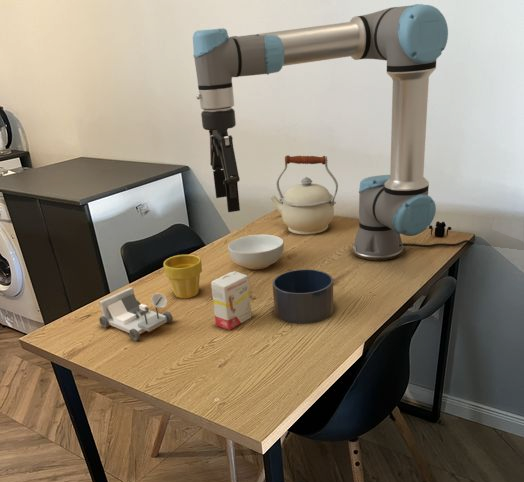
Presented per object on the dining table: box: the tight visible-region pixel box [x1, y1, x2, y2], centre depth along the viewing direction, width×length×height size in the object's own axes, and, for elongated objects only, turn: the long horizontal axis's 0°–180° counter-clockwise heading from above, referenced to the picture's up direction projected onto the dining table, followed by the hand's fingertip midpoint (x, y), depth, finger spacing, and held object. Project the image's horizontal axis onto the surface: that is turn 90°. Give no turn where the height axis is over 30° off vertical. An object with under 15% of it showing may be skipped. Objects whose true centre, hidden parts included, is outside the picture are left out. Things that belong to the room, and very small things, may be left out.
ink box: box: [210, 270, 252, 331], centre depth 135 cm, size 9×5×12 cm, turn 139°
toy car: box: [98, 286, 174, 342], centre depth 137 cm, size 18×10×12 cm
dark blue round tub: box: [271, 268, 334, 324], centre depth 139 cm, size 15×15×8 cm
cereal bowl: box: [227, 233, 285, 270], centre depth 167 cm, size 17×17×7 cm
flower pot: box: [163, 254, 203, 299], centre depth 152 cm, size 10×10×10 cm
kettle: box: [269, 154, 339, 236], centre depth 189 cm, size 25×18×25 cm
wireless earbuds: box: [428, 221, 452, 238], centre depth 177 cm, size 7×2×5 cm, turn 65°
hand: (227, 203), depth 133 cm, fingers open, 13 cm apart
